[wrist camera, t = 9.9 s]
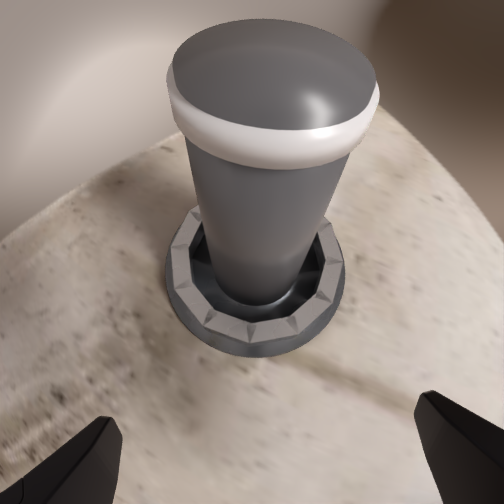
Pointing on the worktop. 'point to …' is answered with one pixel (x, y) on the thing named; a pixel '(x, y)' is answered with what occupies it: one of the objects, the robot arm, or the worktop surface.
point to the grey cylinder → (267, 142)
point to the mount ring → (253, 317)
